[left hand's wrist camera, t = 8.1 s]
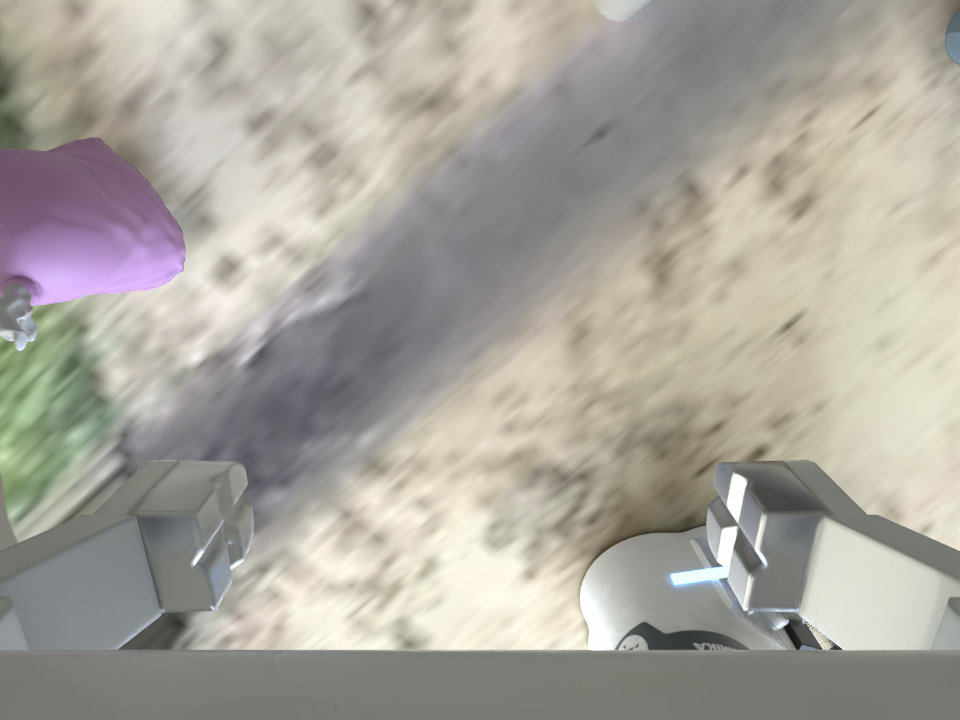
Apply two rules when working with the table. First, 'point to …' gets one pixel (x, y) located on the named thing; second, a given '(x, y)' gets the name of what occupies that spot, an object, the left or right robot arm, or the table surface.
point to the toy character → (78, 231)
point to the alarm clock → (953, 38)
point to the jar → (621, 8)
